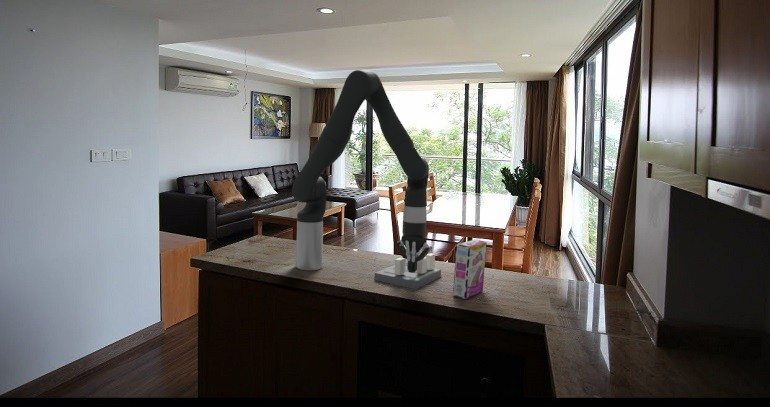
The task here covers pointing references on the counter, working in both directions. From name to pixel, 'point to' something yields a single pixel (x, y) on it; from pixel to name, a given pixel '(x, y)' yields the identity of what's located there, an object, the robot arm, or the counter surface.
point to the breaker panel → (411, 274)
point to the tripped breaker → (399, 266)
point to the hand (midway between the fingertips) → (412, 272)
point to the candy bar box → (469, 268)
